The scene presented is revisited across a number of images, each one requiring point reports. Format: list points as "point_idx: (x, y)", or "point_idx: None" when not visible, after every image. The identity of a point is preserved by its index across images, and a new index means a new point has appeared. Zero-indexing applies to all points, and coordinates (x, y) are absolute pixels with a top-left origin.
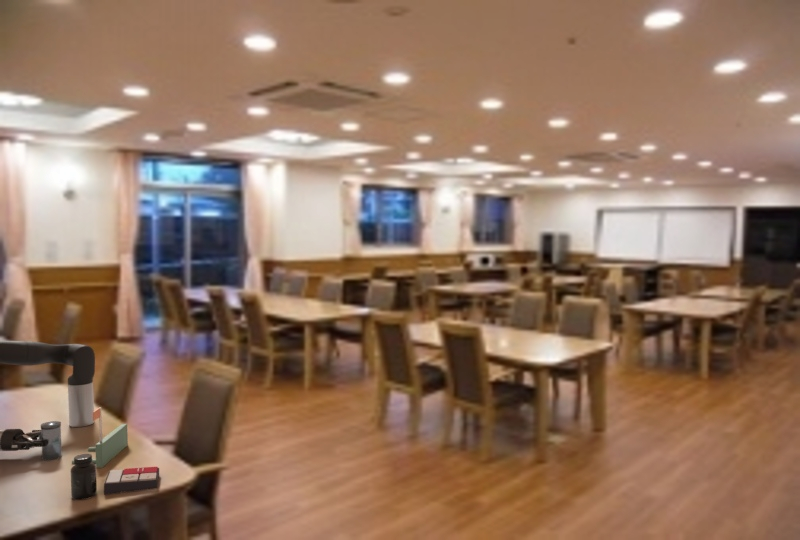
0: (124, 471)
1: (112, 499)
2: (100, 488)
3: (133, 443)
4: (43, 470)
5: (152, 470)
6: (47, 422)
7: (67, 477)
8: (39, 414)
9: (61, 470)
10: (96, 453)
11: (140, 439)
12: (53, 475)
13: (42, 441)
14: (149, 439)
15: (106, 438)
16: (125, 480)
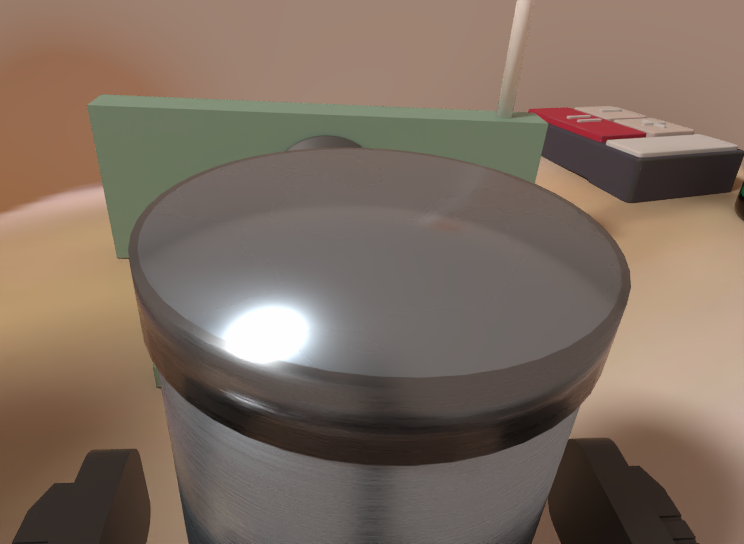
0: (625, 133)
1: (738, 175)
2: (700, 206)
3: (105, 228)
4: (719, 521)
5: (566, 110)
6: (234, 309)
7: (701, 320)
8: None
9: (636, 390)
10: (533, 180)
11: (31, 220)
12: (736, 396)
13: (625, 486)
14: (58, 196)
15: (427, 112)
16: (683, 127)
